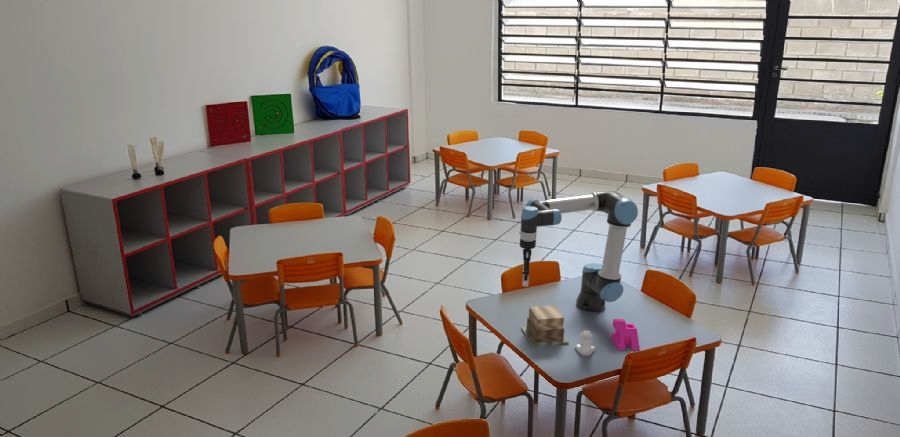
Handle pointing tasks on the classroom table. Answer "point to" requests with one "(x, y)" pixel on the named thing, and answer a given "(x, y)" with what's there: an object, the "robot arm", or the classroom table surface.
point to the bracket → (625, 335)
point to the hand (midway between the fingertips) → (525, 279)
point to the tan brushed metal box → (545, 326)
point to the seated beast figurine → (585, 344)
